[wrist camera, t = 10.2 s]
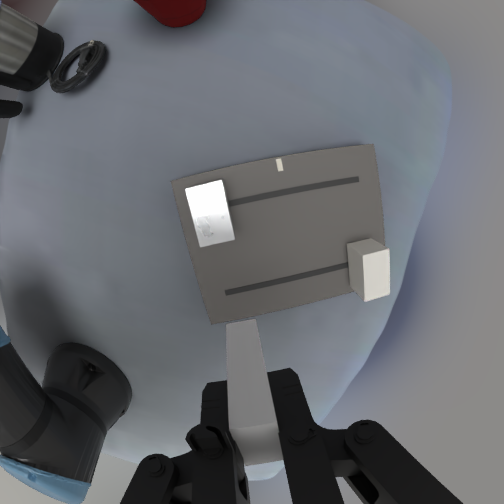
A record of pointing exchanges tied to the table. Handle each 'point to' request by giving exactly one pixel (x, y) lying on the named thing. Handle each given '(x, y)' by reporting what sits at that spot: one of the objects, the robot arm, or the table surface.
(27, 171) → the table surface
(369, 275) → the fader
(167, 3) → the plastic cup
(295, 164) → the slider panel
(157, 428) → the table surface
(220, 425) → the robot arm
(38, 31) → the milk frother
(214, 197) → the fader
